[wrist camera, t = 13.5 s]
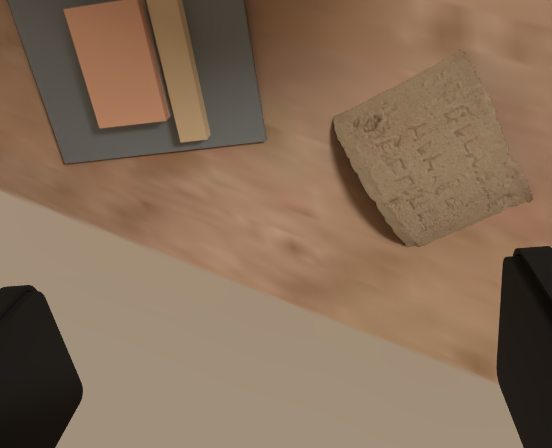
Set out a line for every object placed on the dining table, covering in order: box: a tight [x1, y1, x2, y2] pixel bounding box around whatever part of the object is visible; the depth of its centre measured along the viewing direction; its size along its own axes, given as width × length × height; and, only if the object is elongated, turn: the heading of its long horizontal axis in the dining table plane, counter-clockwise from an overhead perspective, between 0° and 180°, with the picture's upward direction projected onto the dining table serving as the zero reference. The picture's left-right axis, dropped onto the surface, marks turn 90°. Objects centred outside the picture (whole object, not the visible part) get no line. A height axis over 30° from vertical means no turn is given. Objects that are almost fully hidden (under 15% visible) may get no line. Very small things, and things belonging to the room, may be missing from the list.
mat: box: [7, 0, 266, 164], centre depth 35 cm, size 18×16×2 cm
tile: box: [63, 0, 172, 129], centre depth 35 cm, size 8×2×5 cm
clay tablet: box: [333, 49, 533, 247], centre depth 37 cm, size 14×10×3 cm
